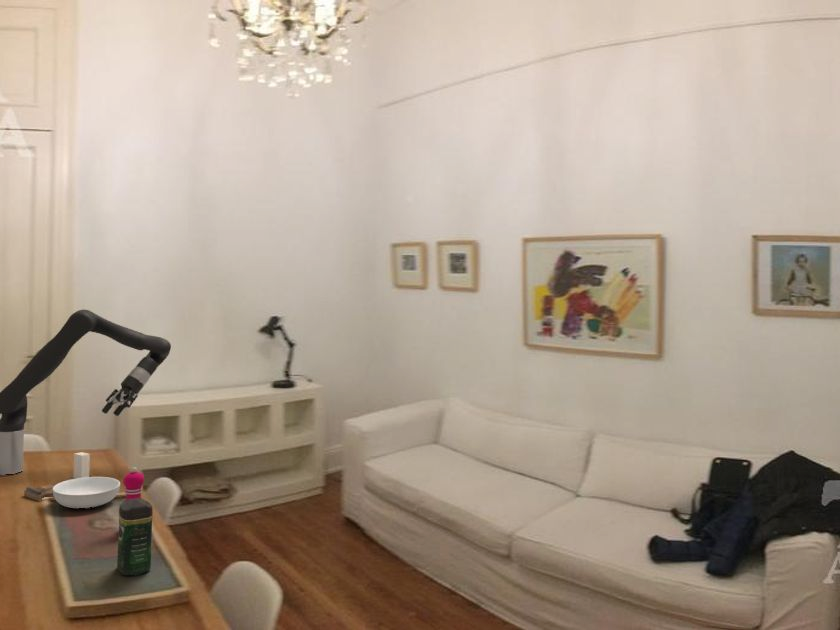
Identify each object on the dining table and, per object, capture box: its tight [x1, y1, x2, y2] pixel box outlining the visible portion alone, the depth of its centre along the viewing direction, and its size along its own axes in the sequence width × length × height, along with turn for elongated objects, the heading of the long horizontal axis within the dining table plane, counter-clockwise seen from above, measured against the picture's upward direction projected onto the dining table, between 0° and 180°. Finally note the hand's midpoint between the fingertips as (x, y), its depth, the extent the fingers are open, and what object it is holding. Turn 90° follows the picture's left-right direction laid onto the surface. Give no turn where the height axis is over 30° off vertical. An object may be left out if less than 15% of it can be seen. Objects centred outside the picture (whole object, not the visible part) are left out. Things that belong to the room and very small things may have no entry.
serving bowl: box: [53, 476, 121, 509], centre depth 221 cm, size 21×21×7 cm
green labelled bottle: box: [116, 498, 154, 576], centre depth 171 cm, size 10×8×19 cm
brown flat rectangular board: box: [23, 475, 93, 502], centre depth 234 cm, size 22×10×3 cm, turn 150°
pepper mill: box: [122, 466, 145, 500], centre depth 198 cm, size 7×7×20 cm
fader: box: [70, 451, 91, 480], centre depth 239 cm, size 4×6×10 cm
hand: (109, 413), depth 247 cm, fingers open, 8 cm apart
